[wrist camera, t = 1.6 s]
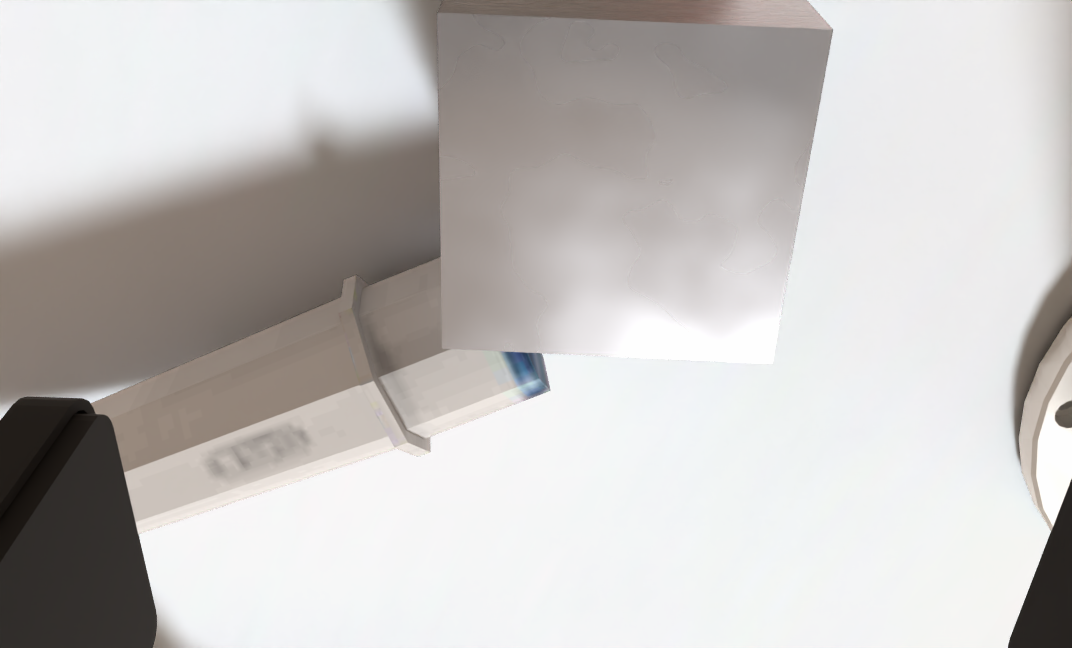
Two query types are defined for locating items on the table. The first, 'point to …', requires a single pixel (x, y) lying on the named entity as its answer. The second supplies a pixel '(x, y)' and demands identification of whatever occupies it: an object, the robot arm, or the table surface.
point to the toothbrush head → (308, 399)
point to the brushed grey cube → (623, 173)
